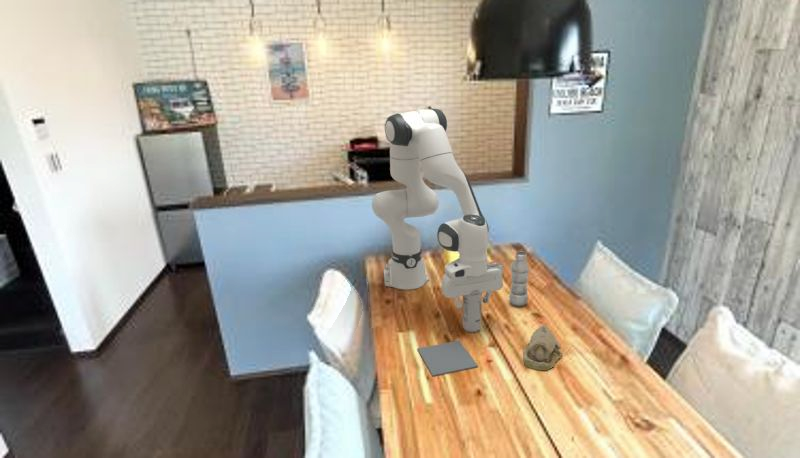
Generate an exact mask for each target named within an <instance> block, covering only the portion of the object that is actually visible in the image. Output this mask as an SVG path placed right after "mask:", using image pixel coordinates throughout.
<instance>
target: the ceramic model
mask: <svg viewBox="0 0 800 458" xmlns="http://www.w3.org/2000/svg"><path fill="white" fill-rule="evenodd" d="M561 346H562V344H561V343H560V341H558V339H556V336H555V335H554V333H553V332H552V331H551V330H550V329H548V328H547V326H546V325H545V324H543V325H541V326H539V327H538V328H537V329H535V330H534V331H533V332H532V335H531V336H530V340H529V342H527V344H526V345H525V346H524V347H523V351H522V356H523V357H522V358H523V359H522V360H523V362H524V365H525V366H526V367H527V366H528V367H527V368H530V369H534V370H537V371H548V370H550V368H551V369H553V368H554V367H555V366H554V365H556V363H557V362H558V361H559V360H560V359H561V358H562V357H563V355H562V354H563V352H562V351H561V348H562V347H561ZM559 350H560V351H559ZM561 356H562V357H561ZM559 358H560V359H559ZM558 359H559V360H558ZM557 360H558V361H557ZM556 361H557V362H556ZM555 362H556V363H555ZM552 367H553V368H552Z"/></svg>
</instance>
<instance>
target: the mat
mask: <svg viewBox="0 0 800 458" xmlns="http://www.w3.org/2000/svg"><path fill="white" fill-rule="evenodd" d="M416 349H417V351H418V353H419V355H420V357H421V359H422V360H423V362H424V364H425V365H426V368H427V370H428V371H429V373H430V374H431V376H432V377H438V376H443V375H446V374H451V373H452V374H453V373H456V372H462V371H467V370H471V369H476V368H479V364H477V362H476V361H475V360H474V358H473V356H471V354H470V353H469V351H468V350H467V349H466V347H465V346H464V345H463V344H462V342H461V341H460V340H454V341H448V342H444V343H437V344H433V345H428V346H423V347H417V348H416Z"/></svg>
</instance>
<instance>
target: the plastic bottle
mask: <svg viewBox="0 0 800 458" xmlns="http://www.w3.org/2000/svg"><path fill="white" fill-rule="evenodd" d="M514 258H515V259H514V261H513V262H512V263H511V265H510V273H511V286H510V292H509V297H508V298H509V302H510V303H511V305H513V306H516V307H523V306H525V305H526V304H527V303H528V300H529V296H528V277H529V272H530V265H529V263H528V261H527V253H526V252H525V251H517V252H515V256H514Z"/></svg>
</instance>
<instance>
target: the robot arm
mask: <svg viewBox="0 0 800 458" xmlns="http://www.w3.org/2000/svg"><path fill="white" fill-rule="evenodd" d="M447 128H448V120H447V118H446V114H445V112H443V111H442V110H441V109H439V108H428V109H427V108H424V109H422V108H420V109H413V110H408V111H406V112H401V113H395V114H392V115H389V116H388V117H387V119H386V121H385V123H384V132H385V133H384V134H385V137H386V139H387V141H388V142H389V165H390V167H389V171H390V173H389V174H390V176H391V177H392V179H393V180H394V181H396V182H398V183H400V184H403V185H404V186H406V188H405V189H392V190H390V189H389V190H385V191H380V192H378V193H376V194H375V195H373V198H372V201H371V209H372V212H373V213H374V215H375V216H376V217H378V219H380V220H382V222H384V223H385V224H386V225H387V227H388V229H389V231H390V234H391V241H392V243H391V244H392V250H391V254H390V255H391V257H390V258H389V259H388V261H387V262H388V263H387V264H385V265H384V269H383V280H384V281H383V282H384V286H385V287H392V288H395V289H398V290H408V291H409V290H416V289H418V288H420V287H423V286H424V285H425V283H426V282H428V281H430V276H429V275H428V274H427V270H426V262H425V260H424V259H422V258H423V256H422V255H423V252H422V249H421V232H420V230H419V229H418V228H417V227H416V226H414V225H412V224H410V223H408V222H406V221H405V219H407V218H421V217H422V218H423V217H427V216H430V215H433V214H435V213H436V212H437V210H438V208H439V203H440V201H439V200H440V199H439V197H438V195H437V193H436V192H435V191H434V190H433V189H431V188H430V187H429V186H428V185H427V184H426V183H425V181H424V179H423V177H422V175H423V176H424V178H425V179H426V180H427V181H428V182H430V183H431V184H434V185H436V186H441V187H444V188H446V189H449V190H451V191H452V192H453V193H454V194H455V195H456V198H457V200H458V203H459V206H460V208H461V212H462V214H463V216H462V217H461V218H457V219H452V220H449V221H445V222H443V223H441V224H440V225H439V226H438V228H437V234H436V235H437V241H438V243H439V245H440V246H441V247H442V249H444V250H446V251H449V252H457V253H458V254H459V256H458V258H457V259H455V260H453V261H451V262H449V263H447V264H445V265H444V271H445V273H444V274H443V275H442V280H441V293H442V295H443V296H444V298H446V299H451V298H453V300H454V302H455V307H456V309H461V308H463V301H461V300H460V297H463V296H464V295H469V294H471V293H472V291H478V290H479V292H480V293H482V294H483V293H485V295H484V296H482V303H483V304H489V302H490V301H489V300H490V298H491V296H492V295H493V292H495V291H499V290H502V288H503V287H504V279H503V269H504V267H503V265H502V263H499V262H497V261H495V262H490V263H489V262H488V253H487V249H488V245H489V229H490V227H489V224H488V222H487V220H486V218H485V217H484V215H483V213H482V211H481V209H480V206H479V203H478V201H477V198H476V195H475V192H474V190H473V187H472V185H471V182H470V180H469V178H468V176H467V174H466V172H465V171H464V170H462V169H461V168H460V166H459V165H458V163H457V162H456V159H455V155H454V152H453V148H452V146H451V142H450V139H449V137H448V135H447V132H446V131H447ZM421 171H422V173H421Z"/></svg>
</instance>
